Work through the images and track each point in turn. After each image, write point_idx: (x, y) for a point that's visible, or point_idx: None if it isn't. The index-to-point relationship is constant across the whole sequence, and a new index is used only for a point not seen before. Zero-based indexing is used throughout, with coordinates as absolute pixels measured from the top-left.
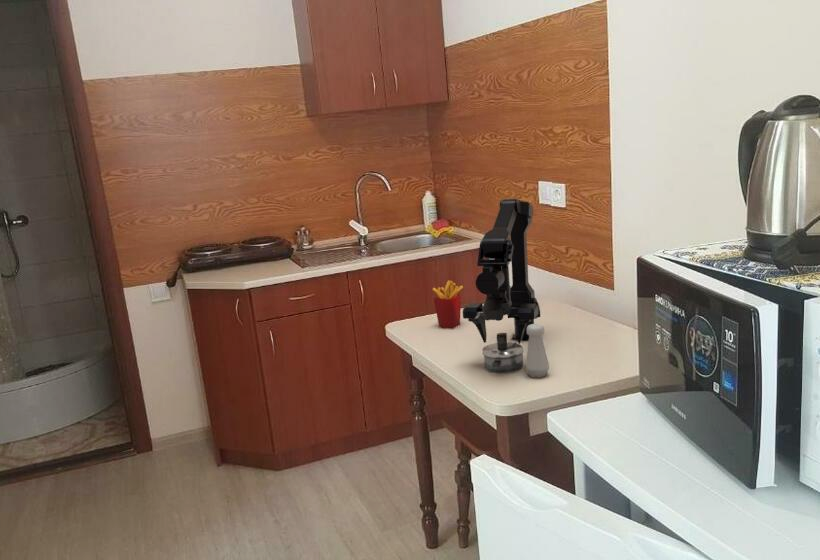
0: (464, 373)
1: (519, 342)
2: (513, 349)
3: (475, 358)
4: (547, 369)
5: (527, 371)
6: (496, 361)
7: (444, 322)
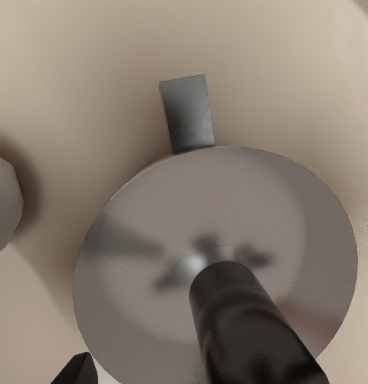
0: (346, 88)
1: (72, 361)
2: (143, 307)
3: (356, 281)
4: None
5: (7, 162)
6: (195, 128)
7: None
